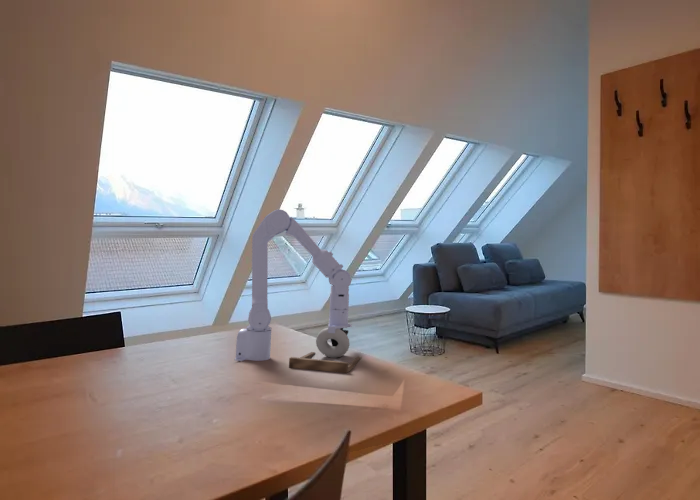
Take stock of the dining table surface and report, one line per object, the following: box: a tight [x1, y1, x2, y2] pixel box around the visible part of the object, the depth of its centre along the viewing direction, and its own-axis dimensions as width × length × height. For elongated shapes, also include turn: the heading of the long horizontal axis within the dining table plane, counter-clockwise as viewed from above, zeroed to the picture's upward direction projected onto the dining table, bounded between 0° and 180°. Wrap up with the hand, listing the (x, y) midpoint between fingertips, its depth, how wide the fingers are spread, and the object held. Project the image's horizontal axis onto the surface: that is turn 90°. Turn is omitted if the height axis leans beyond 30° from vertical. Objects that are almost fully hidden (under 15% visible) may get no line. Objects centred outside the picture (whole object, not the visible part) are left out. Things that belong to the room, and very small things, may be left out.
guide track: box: [288, 351, 363, 374], centre depth 134 cm, size 16×18×2 cm
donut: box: [315, 327, 350, 359], centre depth 139 cm, size 10×4×10 cm, turn 83°
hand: (337, 354), depth 143 cm, fingers closed
